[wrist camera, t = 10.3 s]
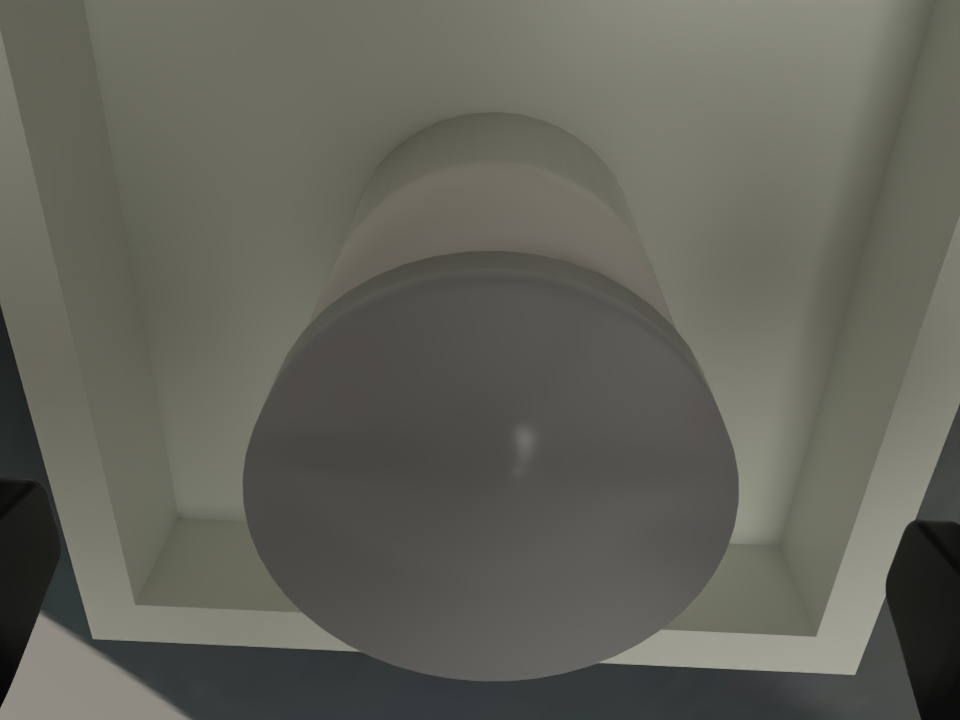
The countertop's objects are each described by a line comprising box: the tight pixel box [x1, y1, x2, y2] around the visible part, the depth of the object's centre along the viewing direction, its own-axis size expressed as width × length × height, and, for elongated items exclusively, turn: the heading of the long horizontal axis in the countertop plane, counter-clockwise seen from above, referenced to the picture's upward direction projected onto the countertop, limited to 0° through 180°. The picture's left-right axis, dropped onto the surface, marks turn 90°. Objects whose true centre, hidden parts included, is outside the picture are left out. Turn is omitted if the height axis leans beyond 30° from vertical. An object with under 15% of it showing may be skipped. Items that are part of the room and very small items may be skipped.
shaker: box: [242, 112, 739, 681], centre depth 12 cm, size 5×5×7 cm
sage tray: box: [0, 0, 960, 675], centre depth 14 cm, size 15×15×4 cm
